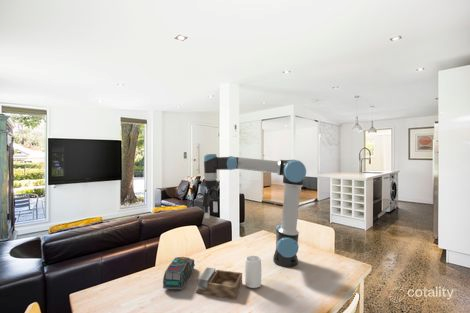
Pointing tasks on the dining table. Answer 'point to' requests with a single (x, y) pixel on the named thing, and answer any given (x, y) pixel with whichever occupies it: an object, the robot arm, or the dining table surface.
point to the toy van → (178, 273)
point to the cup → (253, 271)
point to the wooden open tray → (219, 283)
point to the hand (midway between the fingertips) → (211, 215)
